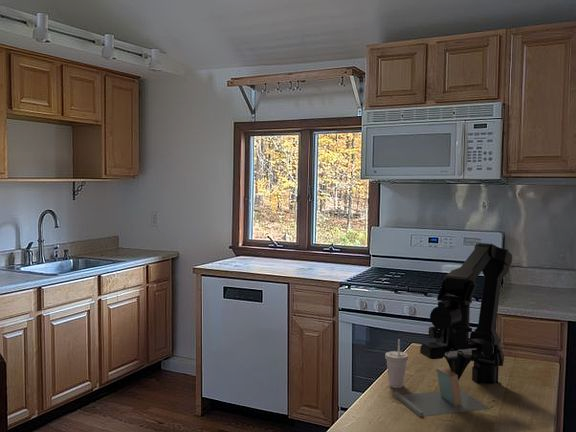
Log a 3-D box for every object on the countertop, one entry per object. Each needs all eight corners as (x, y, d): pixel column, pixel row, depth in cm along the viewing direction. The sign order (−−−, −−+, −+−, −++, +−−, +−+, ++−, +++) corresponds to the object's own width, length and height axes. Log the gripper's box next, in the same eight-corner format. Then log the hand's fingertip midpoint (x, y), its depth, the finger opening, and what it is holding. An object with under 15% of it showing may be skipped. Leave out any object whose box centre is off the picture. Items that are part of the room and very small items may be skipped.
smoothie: (407, 393, 159) (408, 343, 158) (384, 391, 160) (384, 341, 159) (407, 384, 165) (408, 336, 164) (384, 383, 167) (385, 335, 166)
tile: (447, 394, 155) (443, 366, 154) (461, 404, 149) (457, 374, 148) (440, 396, 155) (436, 368, 154) (454, 406, 148) (450, 377, 147)
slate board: (459, 391, 160) (459, 385, 160) (490, 411, 147) (490, 404, 147) (394, 398, 155) (394, 392, 155) (419, 419, 142) (419, 412, 141)
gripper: (471, 313, 161) (469, 368, 162) (410, 317, 156) (409, 373, 157) (495, 322, 150) (493, 381, 151) (432, 327, 145) (430, 388, 146)
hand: (456, 380), depth 152 cm, fingers closed
